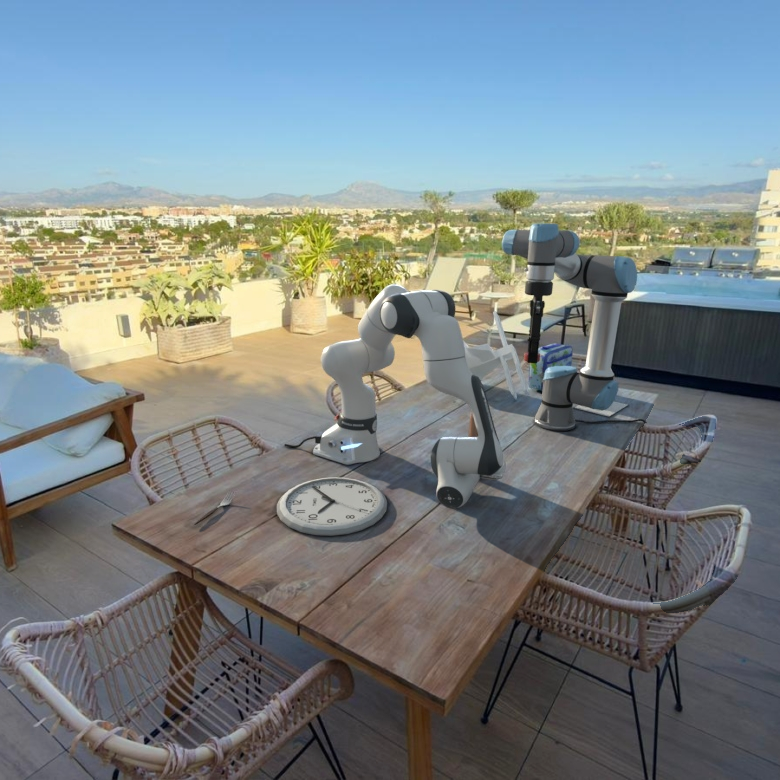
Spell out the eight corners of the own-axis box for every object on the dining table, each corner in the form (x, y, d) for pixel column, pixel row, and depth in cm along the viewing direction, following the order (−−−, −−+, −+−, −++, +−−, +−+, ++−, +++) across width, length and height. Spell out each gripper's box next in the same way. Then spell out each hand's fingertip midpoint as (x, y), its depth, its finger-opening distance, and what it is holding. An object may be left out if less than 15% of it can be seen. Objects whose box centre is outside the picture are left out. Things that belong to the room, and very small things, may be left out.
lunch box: (544, 395, 239) (549, 351, 233) (524, 390, 247) (528, 347, 240) (571, 384, 257) (577, 343, 251) (552, 380, 264) (556, 339, 258)
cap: (521, 359, 156) (521, 352, 155) (533, 358, 157) (534, 351, 157) (530, 362, 152) (530, 356, 151) (542, 361, 153) (543, 354, 153)
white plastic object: (461, 429, 252) (437, 405, 227) (444, 352, 274) (420, 323, 250) (535, 404, 240) (518, 377, 215) (510, 326, 262) (492, 293, 237)
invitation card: (608, 416, 214) (573, 407, 224) (608, 416, 214) (573, 408, 224) (628, 404, 229) (594, 396, 238) (628, 405, 229) (594, 397, 238)
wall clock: (392, 527, 129) (268, 531, 127) (391, 533, 130) (269, 537, 127) (383, 473, 158) (282, 475, 155) (383, 478, 158) (282, 480, 156)
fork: (190, 525, 132) (189, 518, 131) (229, 496, 146) (228, 490, 145) (198, 527, 131) (198, 520, 130) (237, 498, 145) (236, 491, 145)
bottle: (471, 470, 165) (477, 393, 157) (484, 475, 162) (490, 396, 154) (463, 475, 161) (468, 396, 154) (476, 480, 158) (481, 400, 151)
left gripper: (502, 469, 144) (510, 450, 156) (431, 456, 151) (444, 439, 163) (500, 489, 145) (508, 469, 158) (430, 476, 153) (443, 458, 165)
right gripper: (525, 277, 156) (518, 353, 163) (526, 283, 140) (519, 367, 147) (551, 277, 155) (543, 354, 162) (555, 284, 139) (546, 369, 146)
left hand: (475, 454), depth 160 cm, fingers closed on bottle, 5 cm apart
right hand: (531, 360), depth 155 cm, fingers closed on cap, 4 cm apart
